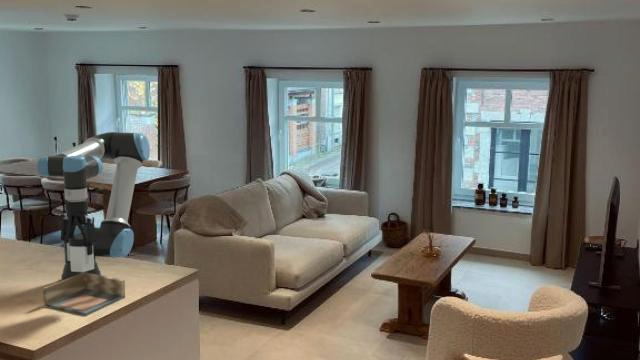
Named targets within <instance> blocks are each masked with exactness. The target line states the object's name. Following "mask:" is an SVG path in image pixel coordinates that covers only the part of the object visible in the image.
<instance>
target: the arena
mask: <svg viewBox="0 0 640 360" xmlns="http://www.w3.org/2000/svg"><path fill="white" fill-rule="evenodd" d="M125 282H126V281H125V279H122V278H117V277H112V276H106V275H102V274H101V275H97V274H91V273H86V272H83V273H80V274H78V275H75V276H72V277H70V278H67V279H65V280H62V281H61V280H60V281H57V282H55V283H52V284H49V285H47V286H44V287H42V292H43V306H44V307H45V306H46V307H45V308H49V307H51V309H54V310H58V309H59V311H64V312H68V313H72V314H76V315H81V316H86V317H88V316H89V315H91V314H94V313H95V312H98V311H100V310H102V309H104V308H105V307H106V308H107V306H110V305H112V304H114V303H116V302H119V301H121V300H123V299H126V285H125Z"/></svg>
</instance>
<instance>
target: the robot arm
mask: <svg viewBox="0 0 640 360" xmlns="http://www.w3.org/2000/svg"><path fill="white" fill-rule="evenodd" d="M150 148H151V147H150V142H149V139H148V137H147V135H145V134H144V133H142V132H141V133H139V132H135V131H134V132H117V131H115V132H113V131H108V132H104V133H100V134H97V135H94V136H91V137H88V138H86V139H85V140H84V141H83V143H81V144H78V145H76V146H74V147H72V148H70V149H67V150H65V151H63V152H60V153H58V154H56V155H55V154H54V155H52V156H51V155H46V156H45V155H43V156H40V157H39V158H38V160H37V162H36V170H37V173H38V174H39V176H42V177H48V178H51V177H52V178H63V186H64V189H63V190H64V199H65V202H64V204H65V205H64V206H65V209H64V210H65V212H64V213H61V214H60V220H61V222H60V223H61V226H60V241H63V248H64V249H63V251H64V265H63V269H62V270H63V271H62V274H61V277H60V278H61V280H60V281H62V280H65V279H67V278H70V277H72V276H75V275H78V274H80V273H83V272H72V271H71V263H70V248H69V237H70V236H72V235H75V234H82V236H83V239H85V245H86V246H84V247H85V258H86V264H89V255H91V254H93V255H94V269H93V270H89V271H86V273H91V274H97V275H102V273H101V270H99V269H100V268H99V265H98V262H97V261H96V257H97V258H98V257H100V258H112V259H116V258H121V259H122V258H125V257H127V256H128V255H129V254H130V252H131V250H132V248H133V244H134V242H135V237H134V236H135V234H134V231H133V230H132V229H131V225H130V224H129V223H128V221H129V216H130V211H131V206H132V202H133V201H132V200H133V194H134V189H135V184H136V179H137V174H138V169H140V168H141V167H143V163H144V162H146V161H148V160H149V158H150V156H151V155H150V154H151V153H150V152H151V149H150ZM101 160H113V162H114V163H115V165H116V168H115V172H114V177H113V180H112V181H113V182H112V186H111V192H110V196H109V200H108V206H107V210H106V217H105V219H103V220H102V221H101V222H100V225H99V227H95V226H96V225H95V217H94V216H88V212H87V211H88V210H89V200H88V198H89V197H88V182H87V181H88V180H90V179H91V178H95V177H97V176H99V175H100V174H101V173H102V171H103V167H104V165H103V161H101ZM88 242H89V243H88ZM92 246H93V248H92Z"/></svg>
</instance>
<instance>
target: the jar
mask: <svg viewBox="0 0 640 360" xmlns="http://www.w3.org/2000/svg"><path fill="white" fill-rule="evenodd" d="M88 243H89V242H88ZM84 246H86V245H85V239H83V236H82V234H75V235H72V236H70V237H69V248H70V263H71V271H72V272H86V271H89V270H93V269H94V255H93V254H91V255H89V264H86V258H85V247H84ZM92 248H93V246H92Z"/></svg>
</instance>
